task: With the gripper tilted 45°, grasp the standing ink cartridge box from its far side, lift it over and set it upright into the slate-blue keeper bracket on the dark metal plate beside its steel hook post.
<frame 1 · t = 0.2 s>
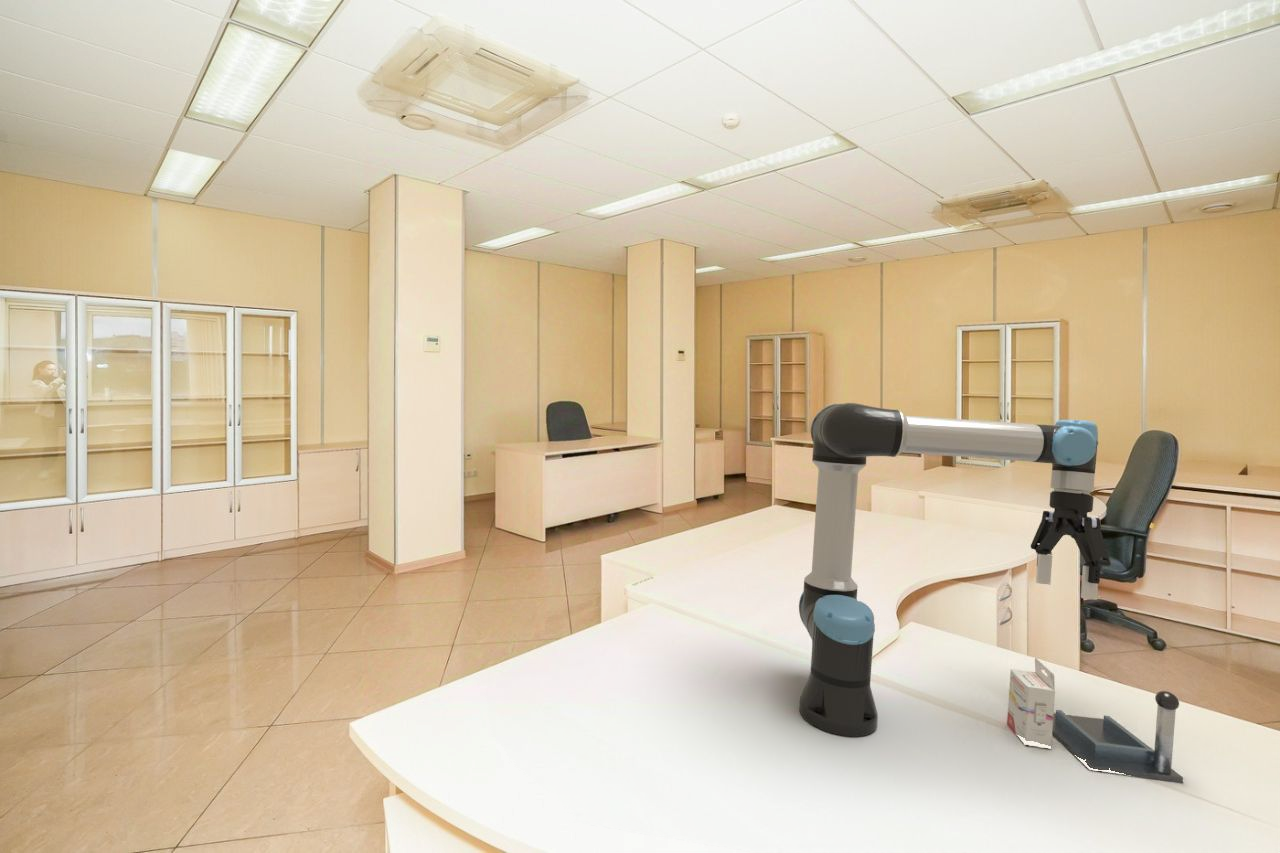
hand: (1064, 590, 124), 27 cm above the table, tool pointing down, fingers open, 13 cm apart
keeper bracket: (1099, 745, 113), on the table
ink cartridge box: (1027, 737, 115), on the table
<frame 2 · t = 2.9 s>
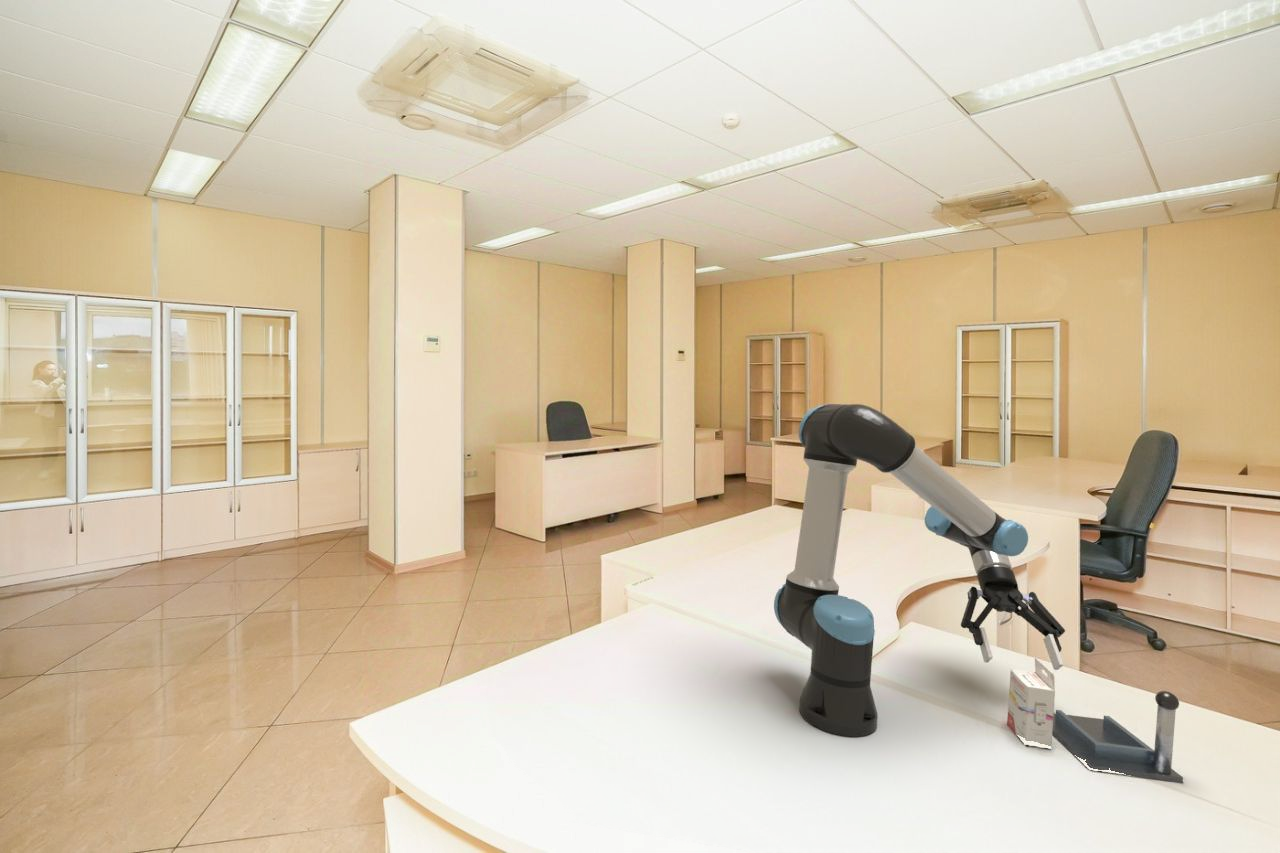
hand: (1023, 663, 121), 12 cm above the table, tool tilted 45°, fingers open, 13 cm apart
nothing on the table moved.
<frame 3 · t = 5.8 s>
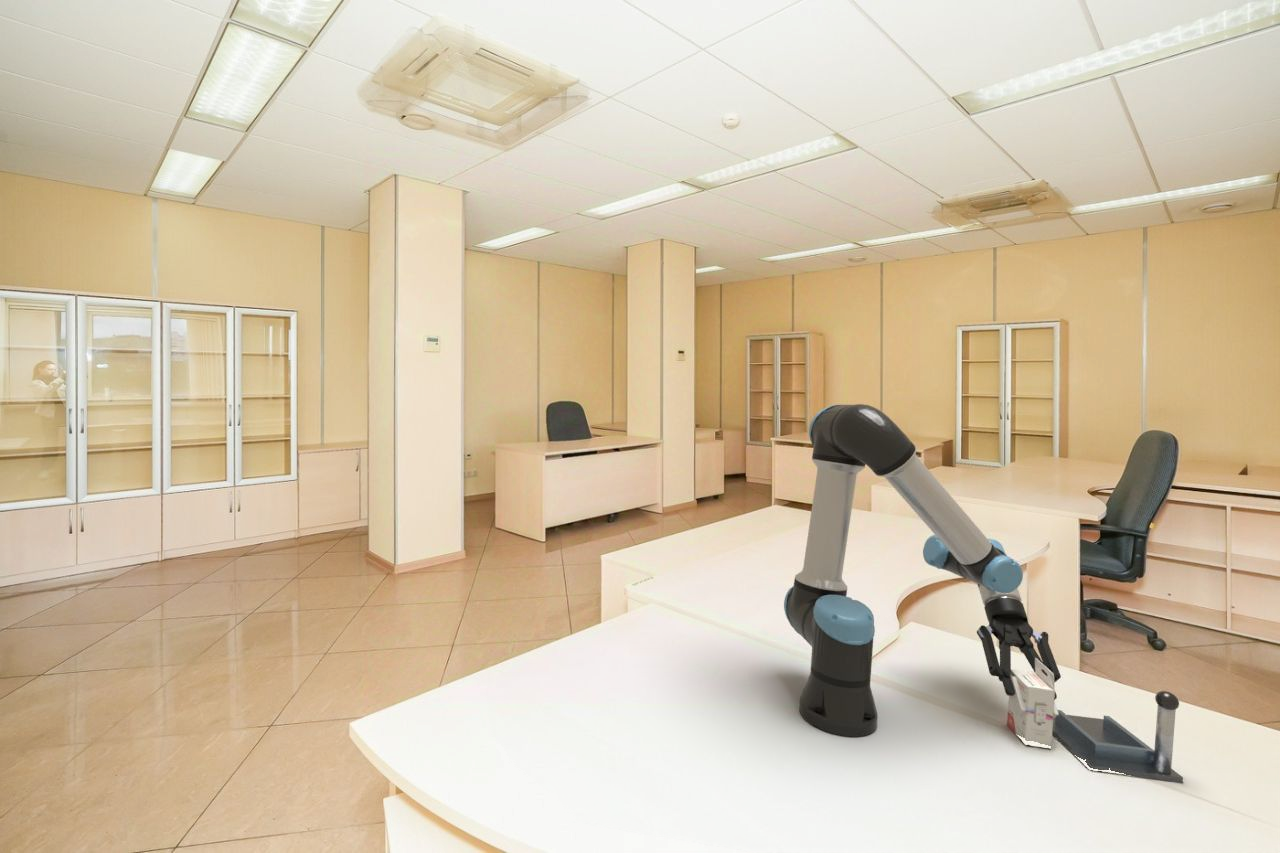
hand: (1037, 714, 112), 6 cm above the table, tool tilted 45°, fingers closed on ink cartridge box, 5 cm apart
ink cartridge box: (1027, 737, 115), on the table, touching gripper
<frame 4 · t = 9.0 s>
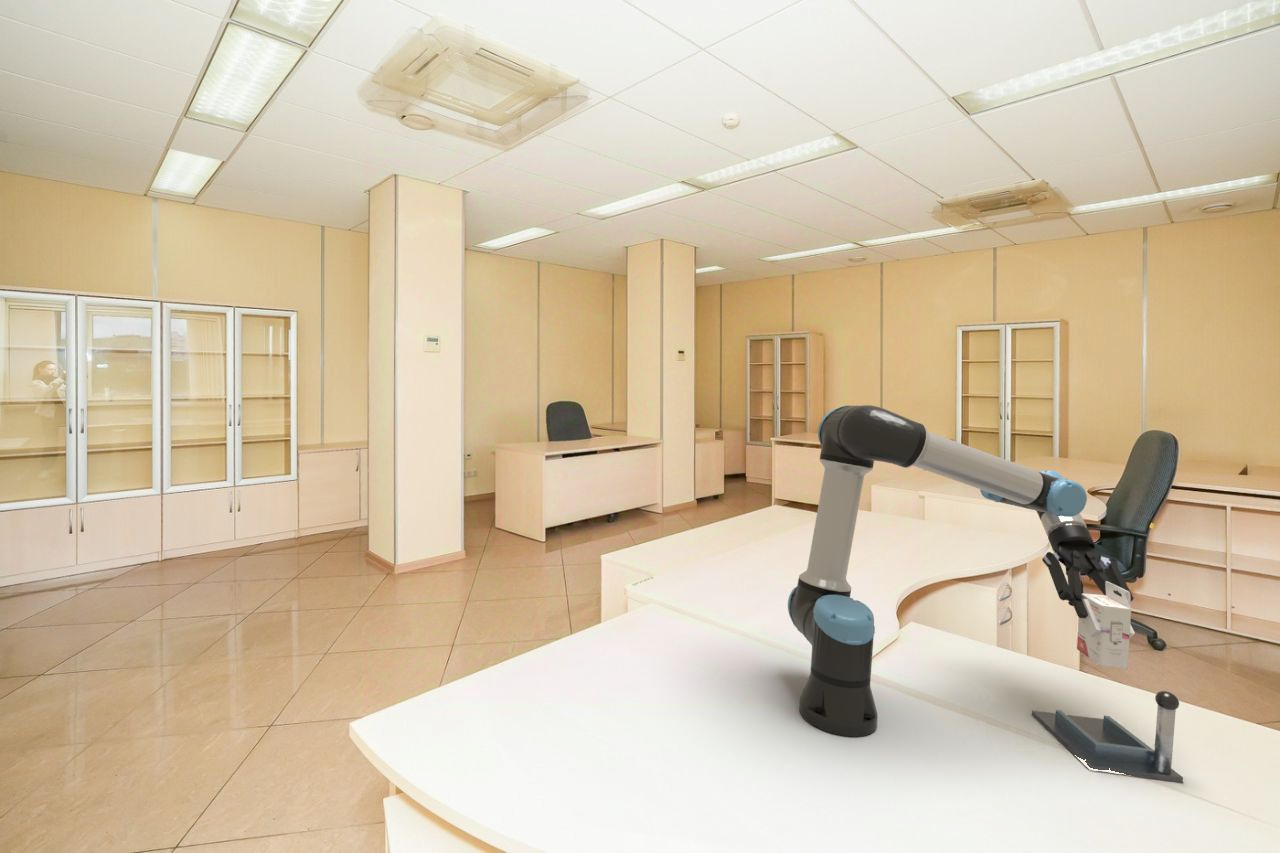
hand: (1112, 634, 110), 23 cm above the table, tool tilted 45°, fingers closed on ink cartridge box, 5 cm apart
ink cartridge box: (1100, 660, 113), point 17 cm above the table, touching gripper
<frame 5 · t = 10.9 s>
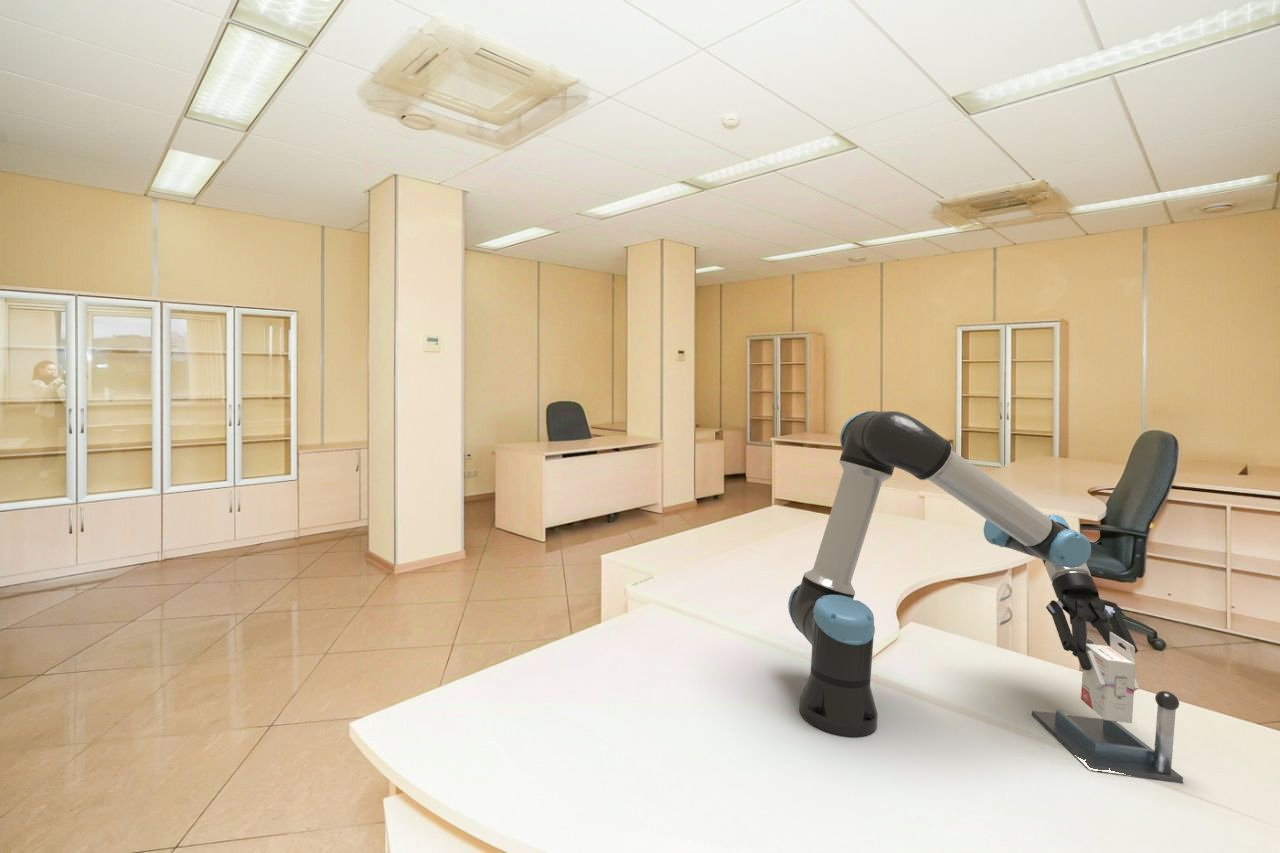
hand: (1116, 688, 110), 13 cm above the table, tool tilted 45°, fingers closed on ink cartridge box, 5 cm apart
ink cartridge box: (1104, 712, 113), point 7 cm above the table, touching gripper
when the fingers open (8 cm above the table, at t = 12.5 s): ink cartridge box drops 1 cm, resting on keeper bracket.
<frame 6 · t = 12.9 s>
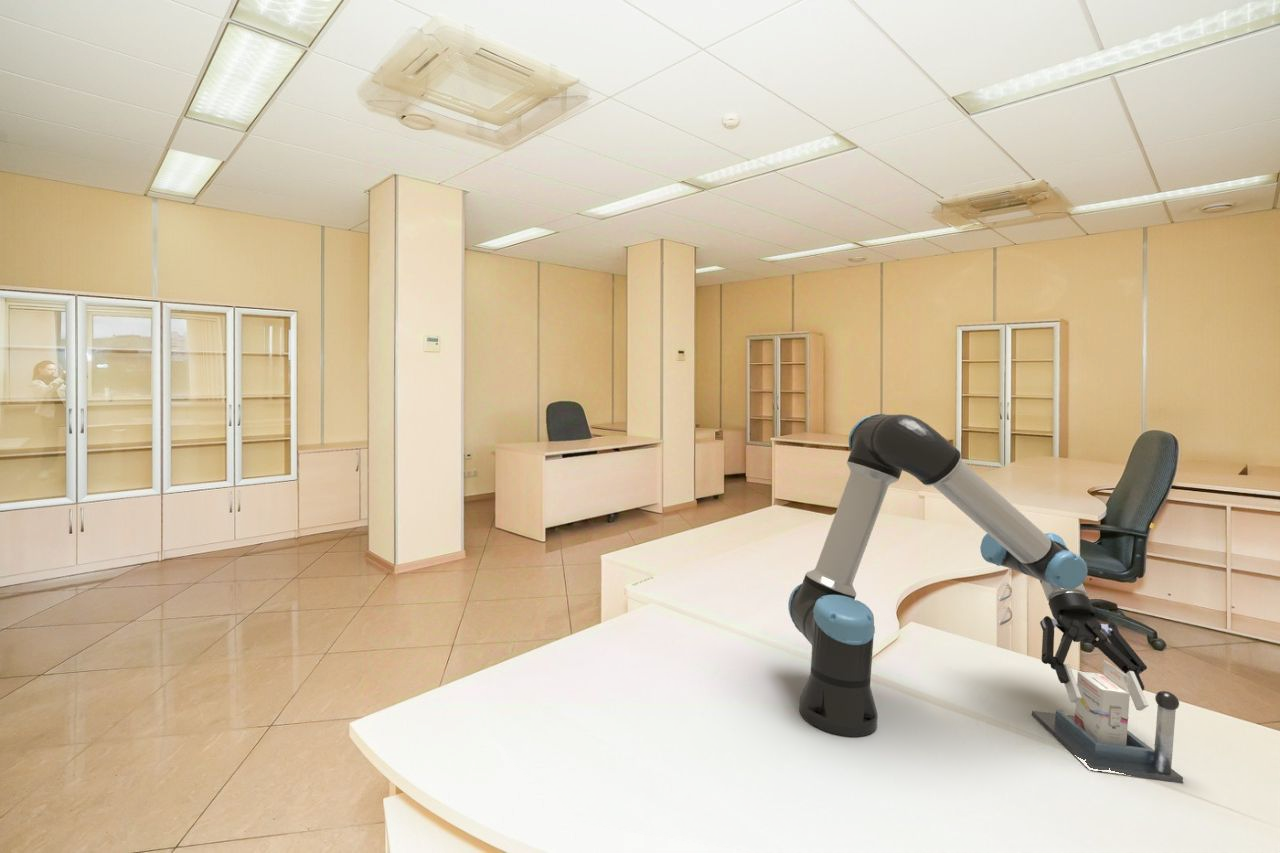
hand: (1109, 704, 111), 9 cm above the table, tool tilted 45°, fingers open, 11 cm apart
ink cartridge box: (1098, 741, 113), point 1 cm above the table, touching keeper bracket
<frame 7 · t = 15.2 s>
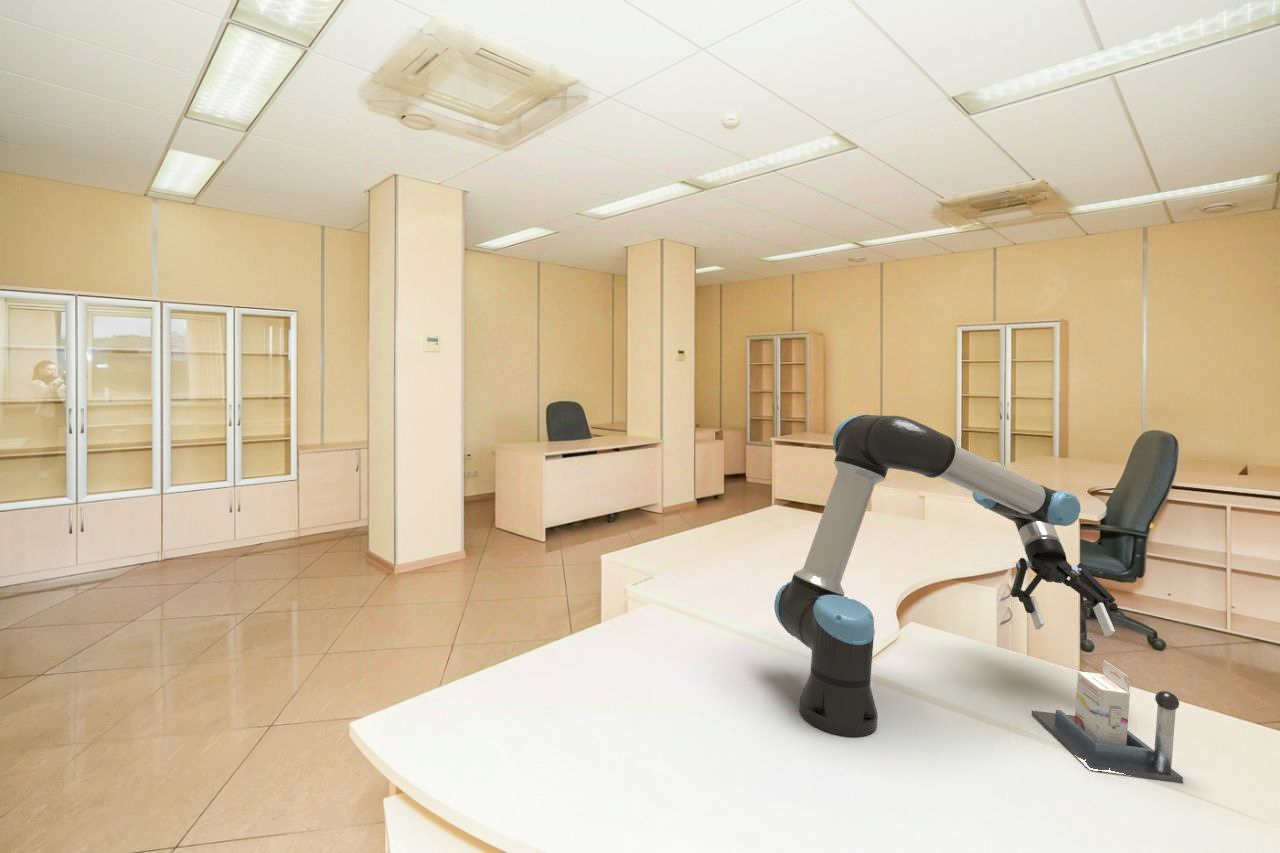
hand: (1074, 630, 123), 19 cm above the table, tool tilted 45°, fingers open, 13 cm apart
nothing on the table moved.
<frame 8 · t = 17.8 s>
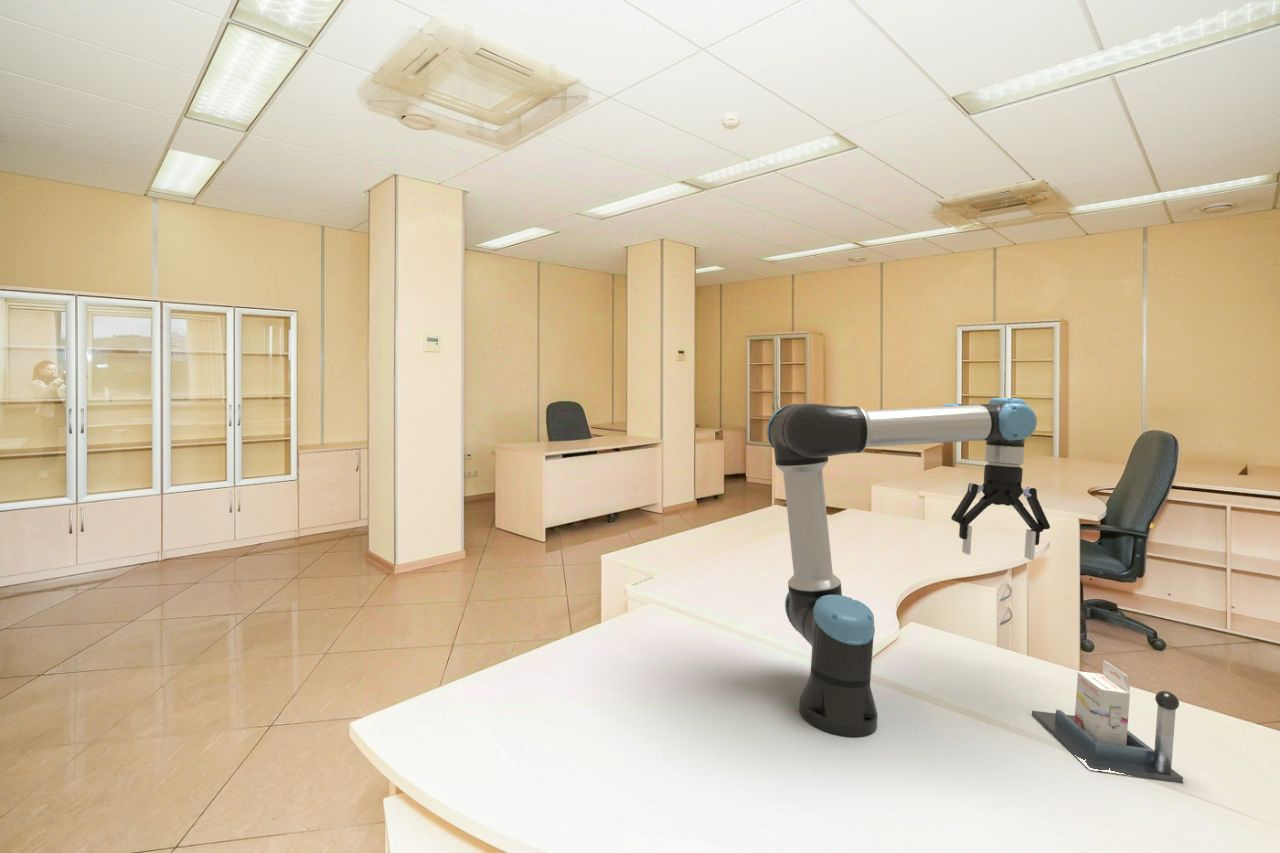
hand: (997, 556, 134), 32 cm above the table, tool pointing down, fingers open, 13 cm apart
nothing on the table moved.
at the end: ink cartridge box 0.3 cm off-centre on the keeper bracket, point 0.8 cm above the keeper bracket's base; ink cartridge box tilted 0°; the gripper is holding nothing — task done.
